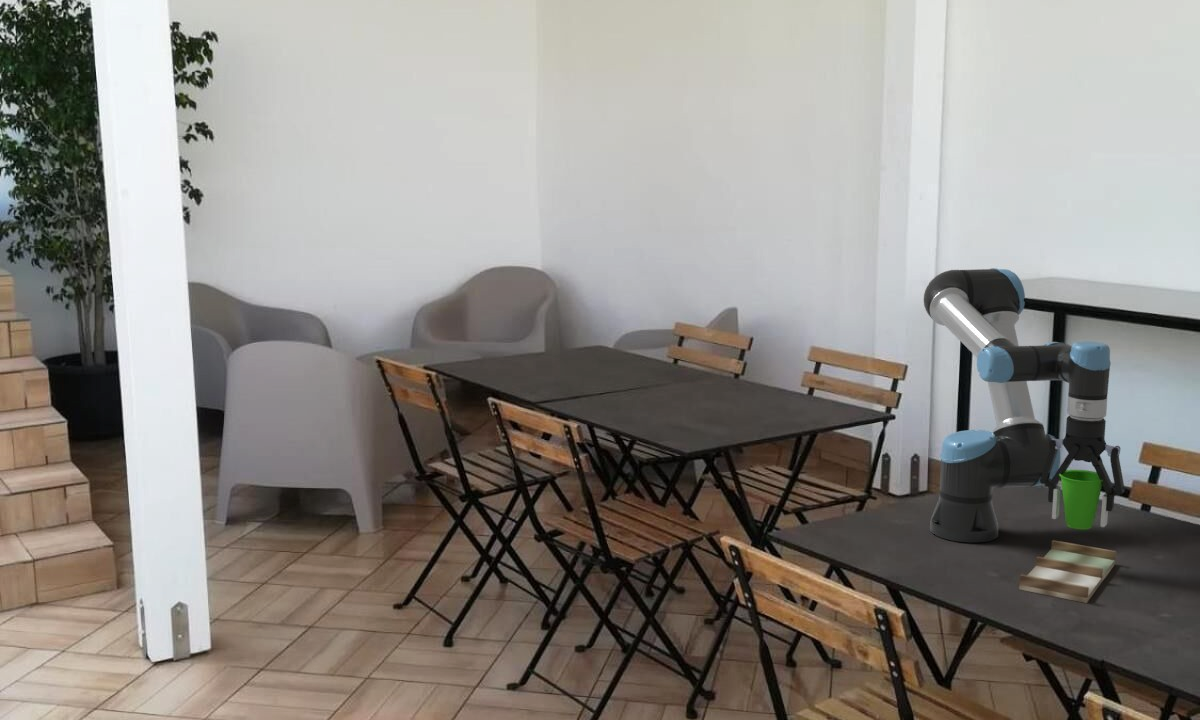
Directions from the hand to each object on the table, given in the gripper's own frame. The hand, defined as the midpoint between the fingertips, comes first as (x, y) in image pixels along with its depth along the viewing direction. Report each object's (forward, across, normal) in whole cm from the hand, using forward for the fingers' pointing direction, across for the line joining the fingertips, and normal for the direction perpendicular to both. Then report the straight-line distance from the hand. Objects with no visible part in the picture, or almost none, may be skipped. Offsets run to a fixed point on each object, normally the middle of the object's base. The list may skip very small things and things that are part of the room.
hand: (1079, 521), depth 253 cm
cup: (+1, 0, 0) cm, 1 cm away
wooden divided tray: (+10, 0, -6) cm, 12 cm away
